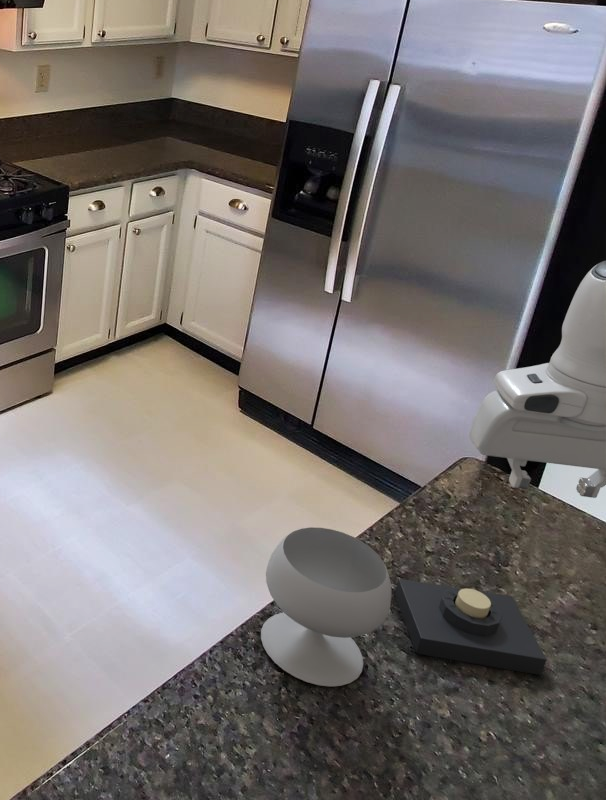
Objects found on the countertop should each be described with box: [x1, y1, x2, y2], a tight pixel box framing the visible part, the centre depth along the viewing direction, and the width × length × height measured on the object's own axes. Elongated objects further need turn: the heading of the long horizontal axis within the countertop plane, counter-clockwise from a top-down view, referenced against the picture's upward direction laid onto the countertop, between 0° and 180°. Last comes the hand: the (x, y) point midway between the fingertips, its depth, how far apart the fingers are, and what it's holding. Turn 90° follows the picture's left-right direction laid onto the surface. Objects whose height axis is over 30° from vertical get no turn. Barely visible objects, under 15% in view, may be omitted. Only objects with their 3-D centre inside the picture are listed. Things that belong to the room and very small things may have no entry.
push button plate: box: [394, 578, 547, 676], centre depth 104 cm, size 14×11×4 cm
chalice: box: [260, 526, 392, 687], centre depth 99 cm, size 14×14×15 cm
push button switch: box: [455, 587, 491, 618], centre depth 103 cm, size 4×4×2 cm
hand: (551, 490), depth 98 cm, fingers open, 6 cm apart
